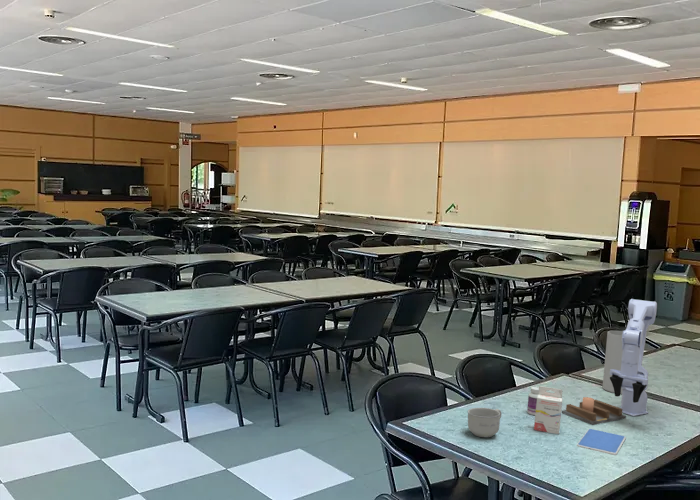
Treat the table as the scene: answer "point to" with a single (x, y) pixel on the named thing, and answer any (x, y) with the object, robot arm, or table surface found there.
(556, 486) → the table surface
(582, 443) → the tablet computer
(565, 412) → the comb rack
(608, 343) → the cylinder vase
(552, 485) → the table surface
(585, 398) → the terracotta plug
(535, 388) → the pill bottle
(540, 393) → the ink cartridge box
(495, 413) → the teacup
